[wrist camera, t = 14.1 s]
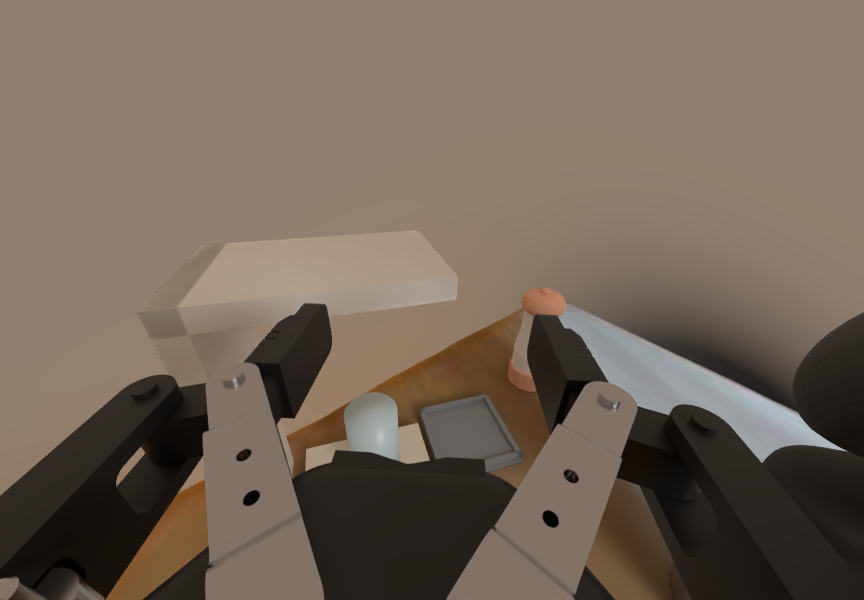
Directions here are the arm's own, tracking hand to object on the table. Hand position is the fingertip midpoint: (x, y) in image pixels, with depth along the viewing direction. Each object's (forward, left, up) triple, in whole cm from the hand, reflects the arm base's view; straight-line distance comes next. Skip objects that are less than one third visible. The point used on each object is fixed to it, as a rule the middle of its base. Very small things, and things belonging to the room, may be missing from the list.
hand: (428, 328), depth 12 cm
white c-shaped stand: (+4, -16, -35) cm, 39 cm away
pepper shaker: (-28, -28, -35) cm, 53 cm away
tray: (-12, -19, -35) cm, 42 cm away
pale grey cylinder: (+2, -16, -33) cm, 37 cm away
